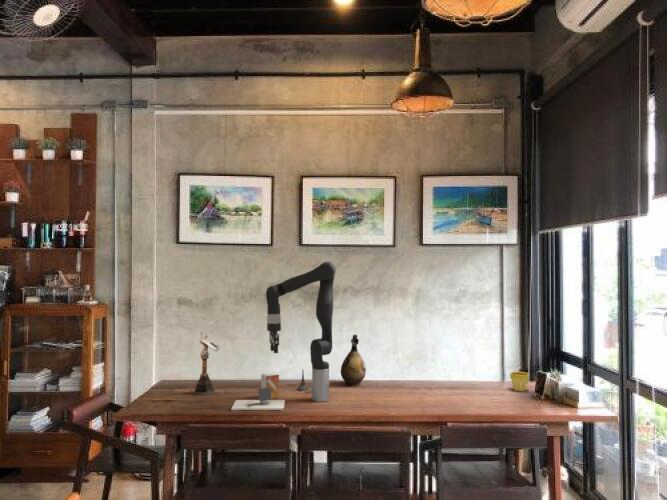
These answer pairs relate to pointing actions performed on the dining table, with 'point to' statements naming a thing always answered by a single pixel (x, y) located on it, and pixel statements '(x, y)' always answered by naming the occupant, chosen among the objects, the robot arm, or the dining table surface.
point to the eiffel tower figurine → (303, 386)
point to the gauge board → (258, 405)
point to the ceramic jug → (353, 366)
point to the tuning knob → (264, 396)
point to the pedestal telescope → (205, 369)
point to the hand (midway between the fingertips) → (274, 351)
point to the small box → (271, 383)
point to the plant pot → (519, 380)
